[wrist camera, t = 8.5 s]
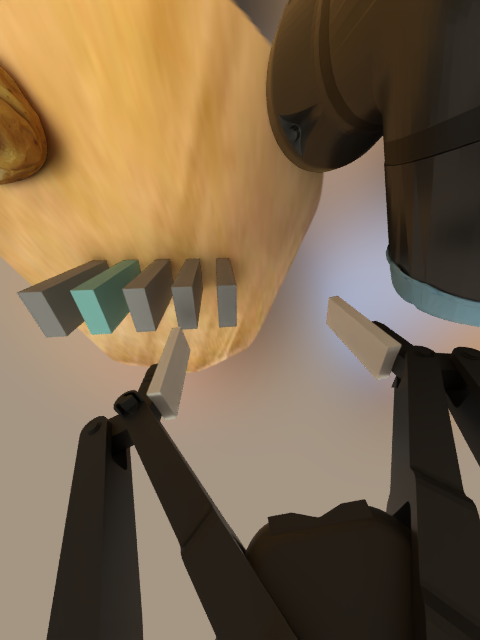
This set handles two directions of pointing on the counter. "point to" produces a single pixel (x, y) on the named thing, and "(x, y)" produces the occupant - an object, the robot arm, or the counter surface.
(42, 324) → the end domino
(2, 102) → the bread roll
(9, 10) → the counter surface
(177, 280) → the domino
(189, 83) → the counter surface
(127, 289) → the domino
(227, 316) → the domino
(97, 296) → the teal domino
